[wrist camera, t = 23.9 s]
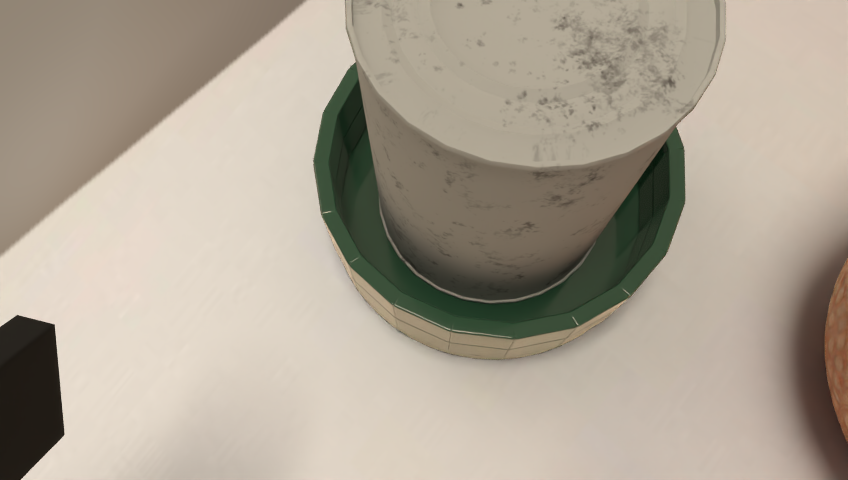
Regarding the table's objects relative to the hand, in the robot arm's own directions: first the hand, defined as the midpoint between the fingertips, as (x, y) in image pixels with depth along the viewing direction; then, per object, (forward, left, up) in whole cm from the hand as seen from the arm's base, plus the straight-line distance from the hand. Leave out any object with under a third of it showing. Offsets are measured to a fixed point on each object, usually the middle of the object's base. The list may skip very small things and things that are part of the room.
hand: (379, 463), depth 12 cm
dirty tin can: (+2, +11, -13) cm, 17 cm away
